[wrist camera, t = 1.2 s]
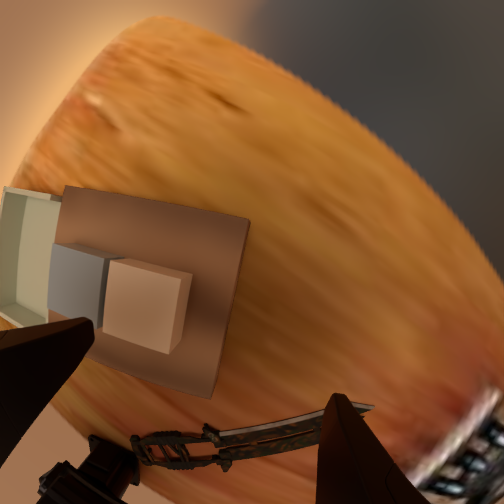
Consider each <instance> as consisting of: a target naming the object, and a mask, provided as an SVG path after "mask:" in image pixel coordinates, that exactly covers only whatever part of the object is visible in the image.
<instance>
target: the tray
mask: <svg viewBox="0 0 504 504" xmlns="http://www.w3.org/2000/svg"><path fill="white" fill-rule="evenodd" d="M61 202H62V197H61V196H56V195H52V194H47V193H41V192H35V191H30V190H24V189H18V188H12V187H6V186H4V190H3V194H2V199H1V205H0V316H1V317H3V318H4V319H6V320H7V321H9V322H10V323H12V324H14V325H15V326H17V327H18V328H22V327H28V326H34V325H40V324H45V323H48V308H47V296H48V280H49V269H50V259H51V251H52V243H54V241H55V234H56V228H57V222H58V217H59V211H60V207H61Z"/></svg>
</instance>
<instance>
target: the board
mask: <svg viewBox="0 0 504 504" xmlns="http://www.w3.org/2000/svg"><path fill="white" fill-rule="evenodd" d="M249 227H250V220H249V219H246V218H241V217H236V216H231V215H227V214H222V213H217V212H212V211H207V210H202V209H197V208H192V207H187V206H182V205H177V204H171V203H166V202H161V201H155V200H150V199H144V198H139V197H133V196H128V195H122V194H116V193H110V192H104V191H98V190H92V189H86V188H80V187H73V186H67V185H65V189H64V193H63V197H62V202H61V207H60V211H59V217H58V222H57V228H56V234H55V241H54V243H77V244H80V245H84V246H87V247H91V248H94V249H98V250H102V251H105V252H109V253H112V254H116V255H120V256H124V259H127V258H131V259H135V260H139V261H143V262H146V263H150V264H154V265H158V266H162V267H166V268H170V269H174V270H178V271H182V272H186V273H190V274H193V276H192V281H191V286H190V291H189V297H188V302H187V308H186V314H185V319H184V325H183V331H182V337H181V341H180V342H179V343H178V344H177V345H176V347H175V348H174V349H173V350H172V351H171V353H170V354H165V353H162V352H159V351H156V350H152V349H149V348H146V347H143V346H140V345H137V344H134V343H131V342H129V341H126V340H123V339H120V338H117V337H115V336H112V335H109V334H107V333H104V332H102V331H103V327H101V328H99V329H97V330H96V329H94V333H95V341H94V343H93V345H92V346H91V348H90V349H89V351H88V352H87V353H86V355H85V357H87V358H89V359H92V360H94V361H96V362H98V363H101V364H103V365H106V366H108V367H111V368H113V369H116V370H118V371H121V372H123V373H126V374H129V375H131V376H134V377H137V378H140V379H142V380H145V381H148V382H151V383H154V384H157V385H160V386H163V387H167V388H170V389H173V390H177V391H180V392H183V393H187V394H191V395H194V396H198V397H202V398H206V399H210V400H211V397H212V394H213V391H214V388H215V385H216V381H217V376H218V371H219V367H220V362H221V357H222V352H223V348H224V343H225V338H226V333H227V329H228V324H229V319H230V315H231V310H232V305H233V301H234V296H235V291H236V287H237V282H238V277H239V273H240V268H241V263H242V259H243V254H244V250H245V245H246V241H247V236H248V231H249ZM67 319H70V318H68V317H66V316H63V315H61V314H59V313H57V312H55V311H52V310H50V309H48V323H51V322H57V321H62V320H67Z"/></svg>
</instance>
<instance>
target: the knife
mask: <svg viewBox="0 0 504 504" xmlns="http://www.w3.org/2000/svg"><path fill="white" fill-rule="evenodd" d="M351 403H352V402H351ZM352 404H353V406H354V407H355V409H356V410H357V411H358V413H359V414H361V413H364V412H367V411H370V410H372V409H373V408H374V407H375V406H370V405H364V404H358V403H352ZM323 413H324V410H322V411H319V412H315V413H312V414H308V415H304V416H300V417H296V418H292V419H288V420H284V421H280V422H275V423H270V424H266V425H261V426H255V427H250V428H244V429H238V430H231V431H225V432H220V431H219V430H217V431H211V430H210V428H209V426H208V424H207V423H206V424H204V426H205V427H203V428H202V430H203V432H204V434H202V436H201V438H196V437H191V436H185V437H180V434H181V432H179V431H170V432H168V431H165V432H163V431H161V432H154V434H153V436H147V437H146V438H145V439H141V440H140V438H139V436H138V435H132V436H131V438H130V442H131V445H132V449H133V451H134V453H135V455H136V457H137V458H138V459H140V460H141V462H142V463H143V464H144V465H146V466H152V465H159V466H162V467H166V468H168V469H173V470H175V469H177V470H180V469H182V470H184V469H186V470H189V469H191V470H193V469H194V468H195V467H205V466H207V465H209V464H211V463H216V464H217V465H221V468H222V470H223V472H227V471H228V470H229V468H230V467H231V466H232V461H234V460H242V459H249V458H255V457H261V456H267V455H273V454H278V453H283V452H287V451H292V450H296V449H300V448H304V447H308V446H312V445H316V444H319V441H320V434H321V429H320V427H321V426H322V420H323ZM361 417H362V418H364V417H365V416H361ZM311 429H313V430H314V431H311V432H307V433H303V434H300V435H295V436H291V437H287V438H282V439H278V440H273V441H268V442H262V443H257V441H262V440H267V439H272V438H277V437H282V436H286V435H291V434H295V433H299V432H303V431H307V430H311ZM201 442H212V443H213V444H214V446H215V448H220V447H227V446H231V445H238V444H245V443H249V445H245V446H238V447H231V448H226V449H219V453H218V454H219V455H212V459H211V460H197V461H190V460H189V457H188V455H190V454H189V452H188V450H187V449H186V448H185V445H184V444H188V443H201ZM171 444H172V445H171ZM175 444H176V445H177V448H178V450H177V449H176V448H175V447H174V446H173V445H175ZM145 445H158V446H159V448H160V449H161V451H162V453H163V454H164V456H165V458H166V459H167V461H166V462H160V461H154V460H153V458H152V456H151V455H150V452H151V450H152V449H151V448H148V450H147V448H146V446H145ZM162 445H168V446H169V447H170V448H171V449H172V450H173V451H174V452H175V453H176V454H178V455H180V458H181V461H171V460H170V458H169V456H168V455H167V453H166V451H165V449H164V448H163V446H162ZM143 449H144V450H143ZM145 452H146V453H145ZM182 452H183V453H184V456H185V459H186V461H185V460H184V457H183V453H182ZM146 454H147V455H146ZM147 456H148V457H149V458H148V457H147Z"/></svg>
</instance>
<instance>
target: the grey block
mask: <svg viewBox="0 0 504 504" xmlns="http://www.w3.org/2000/svg"><path fill="white" fill-rule="evenodd" d="M118 259H124V256H120V255H116V254H112V253H109V252H105V251H102V250H98V249H94V248H91V247H87V246H84V245H80V244H77V243H52V251H51V259H50V269H49V280H48V296H47V308H48V309H50V310H52V311H55V312H57V313H59V314H61V315H63V316H66V317H68V318H70V319H73V318H78V317H86V318H89V319H91V320H92V321H93V325H94V329H96V330H97V329H99V328H101V327H103V317H104V306H105V297H106V288H107V280H108V272H109V266H110V260H118Z"/></svg>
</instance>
